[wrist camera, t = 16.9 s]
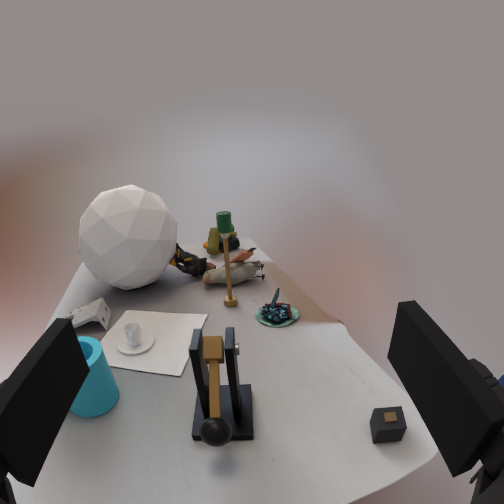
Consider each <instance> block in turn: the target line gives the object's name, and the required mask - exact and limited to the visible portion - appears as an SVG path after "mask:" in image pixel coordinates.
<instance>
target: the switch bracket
mask: <svg viewBox="0 0 504 504" xmlns="http://www.w3.org/2000/svg"><path fill="white" fill-rule="evenodd" d="M224 350H225V358H226V366H227V374H228V381H229V385H220V412H221V418H223V419H225V420H226V421H227V422H228V423H229V424H230V426H231V428H232V436H231V439H230V440H251V439H253V418H252V397H251V384H246V385H240V384H239V374H238V364H237V355H239V344H238V343H237V344H235V334H234V327H229V328H226V332H225V347H224ZM188 352H189V356H190V357H191V362H192V367H193V372H194V377H195V381H196V386H197V390H198V393H197V400H196V407H195V414H194V422H193V429H192V438H193V440H202V438H201V436H200V427H201V424H202V423H203V422H204V421H205V420H206V419H208V418H210V397H209V371H208V366H207V364H206V362H205V360H204V359H203V336H202V329H194V330H193V334H192V339H191V343H190V345H189V347H188Z"/></svg>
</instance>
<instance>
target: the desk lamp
mask: <svg viewBox="0 0 504 504" xmlns="http://www.w3.org/2000/svg"><path fill="white" fill-rule="evenodd" d="M216 219H217V232H218V233H220V236H221V237H222V238H223V246H224V258H225V270H226V281H227V292H228V296H226V297H224V305H225V306H227V307H233V306H235V305H237V297H236V296H234V295H232V286H231V274H230V262H229V249H228V237H229V235H230V232H232V225H231V212H227V211H223V212H218V213H216Z"/></svg>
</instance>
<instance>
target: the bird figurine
mask: <svg viewBox="0 0 504 504" xmlns="http://www.w3.org/2000/svg"><path fill="white" fill-rule="evenodd" d="M231 225H232V223H231ZM236 235H237V233H236V232H234V226H233V225H232V232H230V235H229V237H236ZM220 237H221V236H220V233H218V232H217V228H211V229H210V233H209V239H208V247H207V253H208V254H211V255H216V254H218V249H219V240H220Z"/></svg>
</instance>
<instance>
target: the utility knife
mask: <svg viewBox="0 0 504 504" xmlns="http://www.w3.org/2000/svg"><path fill="white" fill-rule="evenodd" d="M255 249H256V248H251V249H249V250H243V251H242V252H241V253H239V254H238V255H237V256H235V257H234V258H233V259H232V260H230V261H229V262H230V264H231V263H234V262H243V261H245V260H246V259H248V258H250V256H252V255H253V250H255ZM223 267H225V265H224V266H222V268H223Z"/></svg>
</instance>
